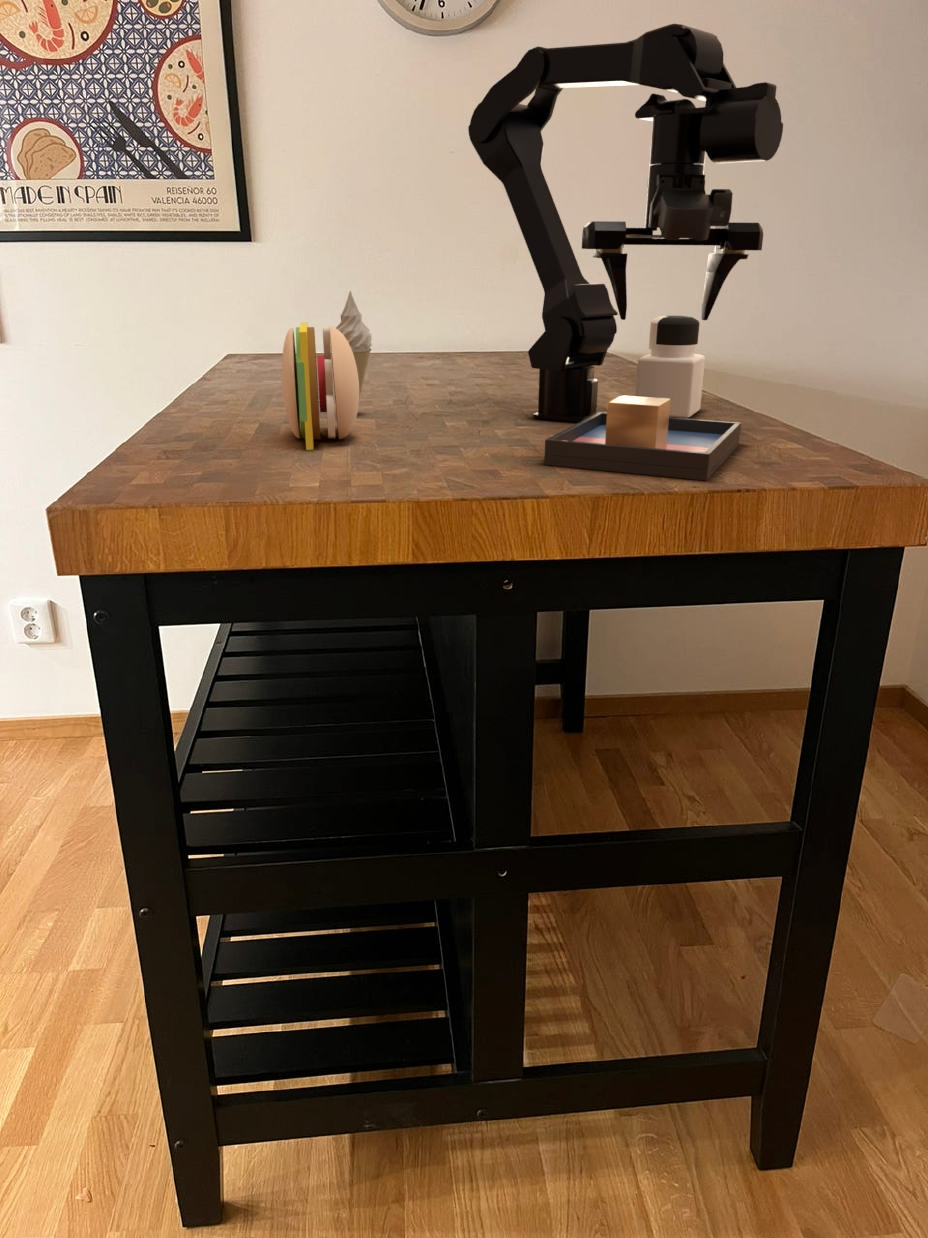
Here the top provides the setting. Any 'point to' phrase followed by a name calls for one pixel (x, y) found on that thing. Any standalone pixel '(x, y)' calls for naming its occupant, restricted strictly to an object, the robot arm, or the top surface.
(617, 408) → the brass block
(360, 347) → the ice cream cone
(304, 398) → the hamburger
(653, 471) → the tray
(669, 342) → the white square bottle
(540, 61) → the robot arm
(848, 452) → the top surface
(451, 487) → the top surface
